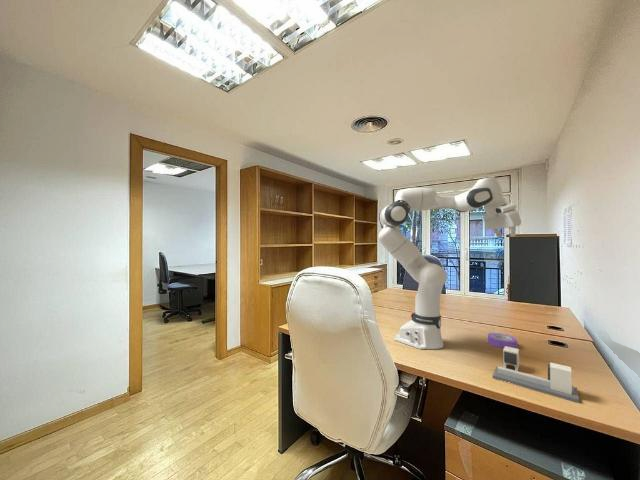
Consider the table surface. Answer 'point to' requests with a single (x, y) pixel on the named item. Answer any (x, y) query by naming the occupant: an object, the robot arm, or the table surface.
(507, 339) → the masking tape
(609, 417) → the table surface
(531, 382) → the rail
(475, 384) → the table surface
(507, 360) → the block
